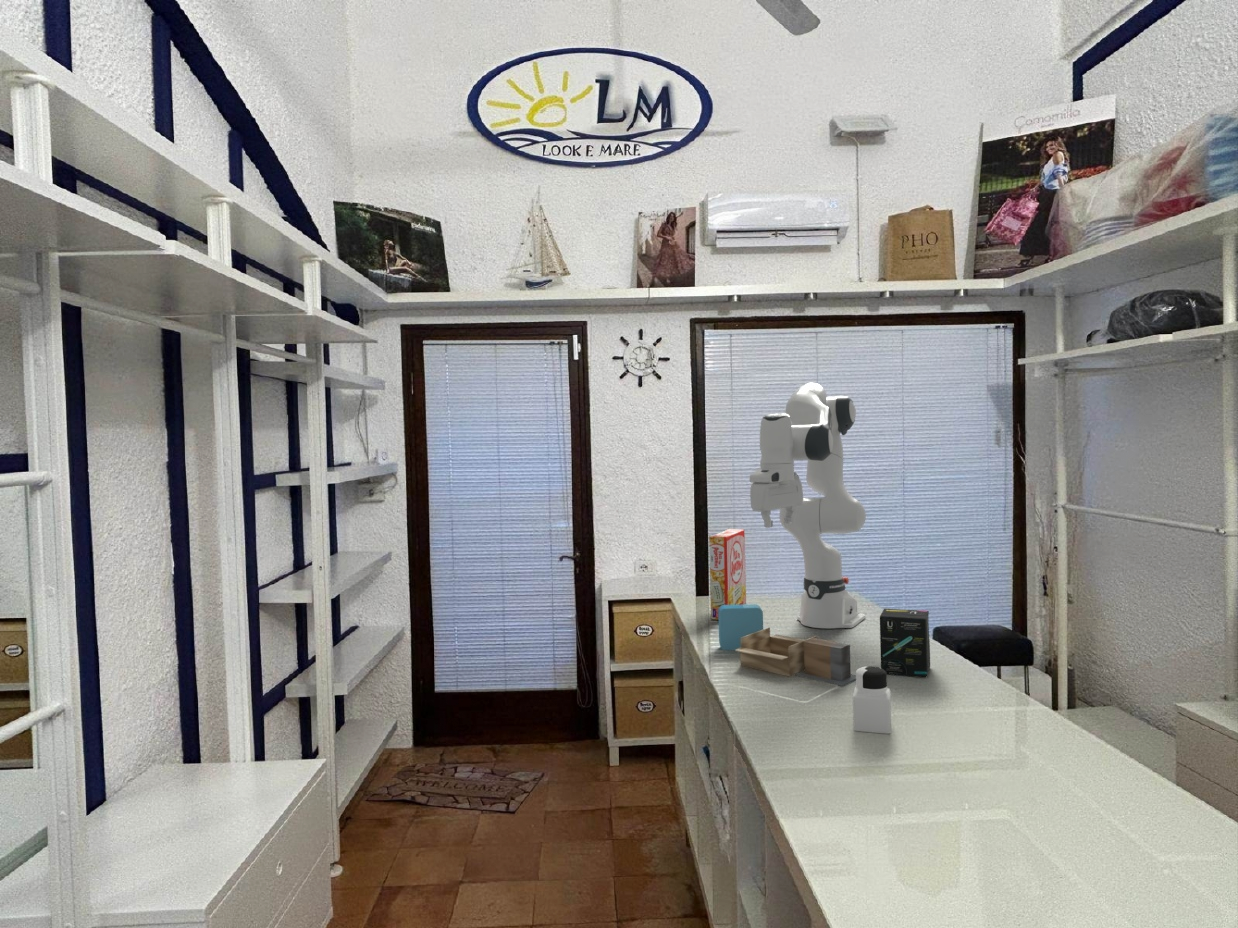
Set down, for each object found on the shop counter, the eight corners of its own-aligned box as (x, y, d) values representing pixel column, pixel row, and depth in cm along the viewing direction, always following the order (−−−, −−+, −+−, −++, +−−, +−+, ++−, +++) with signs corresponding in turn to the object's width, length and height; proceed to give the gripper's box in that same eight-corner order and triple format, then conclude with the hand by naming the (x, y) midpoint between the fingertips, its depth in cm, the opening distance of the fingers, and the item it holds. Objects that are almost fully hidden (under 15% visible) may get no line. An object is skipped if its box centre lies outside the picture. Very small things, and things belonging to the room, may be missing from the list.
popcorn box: (728, 621, 258) (726, 536, 257) (710, 619, 261) (707, 536, 260) (747, 607, 277) (744, 528, 275) (729, 606, 279) (727, 528, 278)
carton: (775, 652, 221) (774, 625, 221) (823, 661, 211) (822, 633, 211) (734, 668, 208) (733, 639, 208) (783, 679, 198) (782, 649, 197)
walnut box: (814, 669, 204) (813, 637, 203) (850, 676, 197) (850, 644, 196) (804, 673, 201) (803, 641, 200) (841, 681, 194) (840, 648, 193)
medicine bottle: (890, 721, 168) (889, 664, 168) (890, 734, 161) (889, 675, 161) (855, 718, 170) (853, 662, 170) (853, 731, 164) (852, 672, 163)
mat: (813, 667, 206) (813, 666, 206) (860, 677, 197) (860, 675, 197) (794, 676, 200) (794, 674, 200) (842, 686, 191) (842, 685, 191)
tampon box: (930, 667, 203) (929, 609, 203) (927, 678, 195) (926, 618, 194) (884, 663, 208) (883, 607, 207) (880, 674, 200) (879, 615, 199)
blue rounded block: (762, 646, 228) (760, 603, 228) (764, 650, 224) (762, 607, 223) (719, 646, 229) (718, 604, 228) (720, 651, 225) (719, 608, 224)
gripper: (788, 471, 227) (789, 520, 227) (745, 476, 212) (747, 528, 213) (808, 471, 222) (809, 521, 223) (765, 476, 208) (767, 530, 208)
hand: (778, 525), depth 218 cm, fingers open, 8 cm apart
